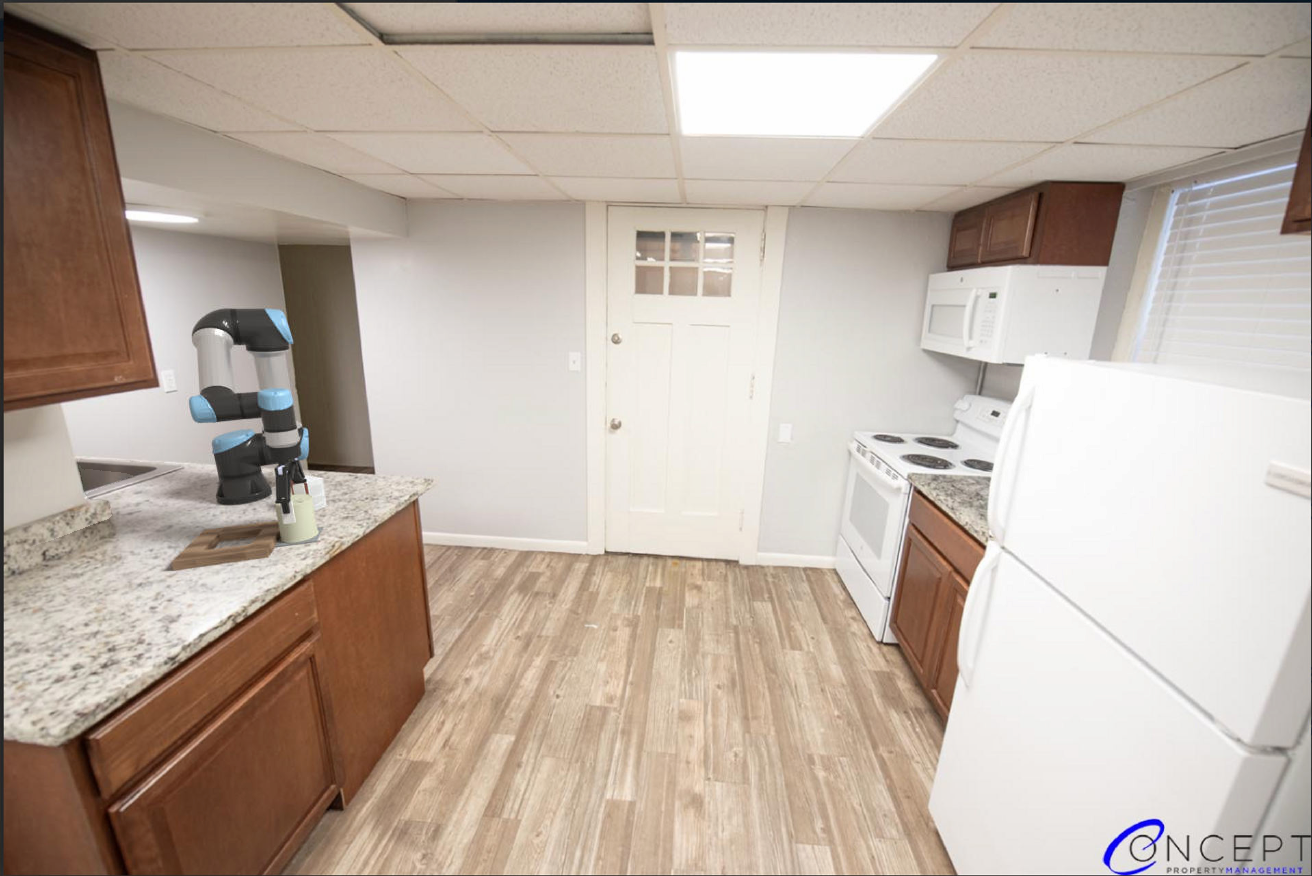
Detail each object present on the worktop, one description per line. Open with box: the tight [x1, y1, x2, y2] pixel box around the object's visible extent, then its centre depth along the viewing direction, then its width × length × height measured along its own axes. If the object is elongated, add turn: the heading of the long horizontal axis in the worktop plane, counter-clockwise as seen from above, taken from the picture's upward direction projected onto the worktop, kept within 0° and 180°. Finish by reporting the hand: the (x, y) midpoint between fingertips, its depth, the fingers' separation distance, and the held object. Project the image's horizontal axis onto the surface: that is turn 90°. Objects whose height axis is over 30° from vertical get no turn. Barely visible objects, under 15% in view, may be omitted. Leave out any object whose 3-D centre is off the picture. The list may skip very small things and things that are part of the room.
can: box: [273, 494, 319, 543], centre depth 145 cm, size 9×9×12 cm
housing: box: [171, 520, 281, 572], centre depth 139 cm, size 20×20×2 cm
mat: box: [275, 526, 325, 548], centre depth 146 cm, size 10×10×1 cm
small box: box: [291, 474, 328, 512], centre depth 165 cm, size 8×6×10 cm
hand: (295, 513), depth 145 cm, fingers open, 13 cm apart
